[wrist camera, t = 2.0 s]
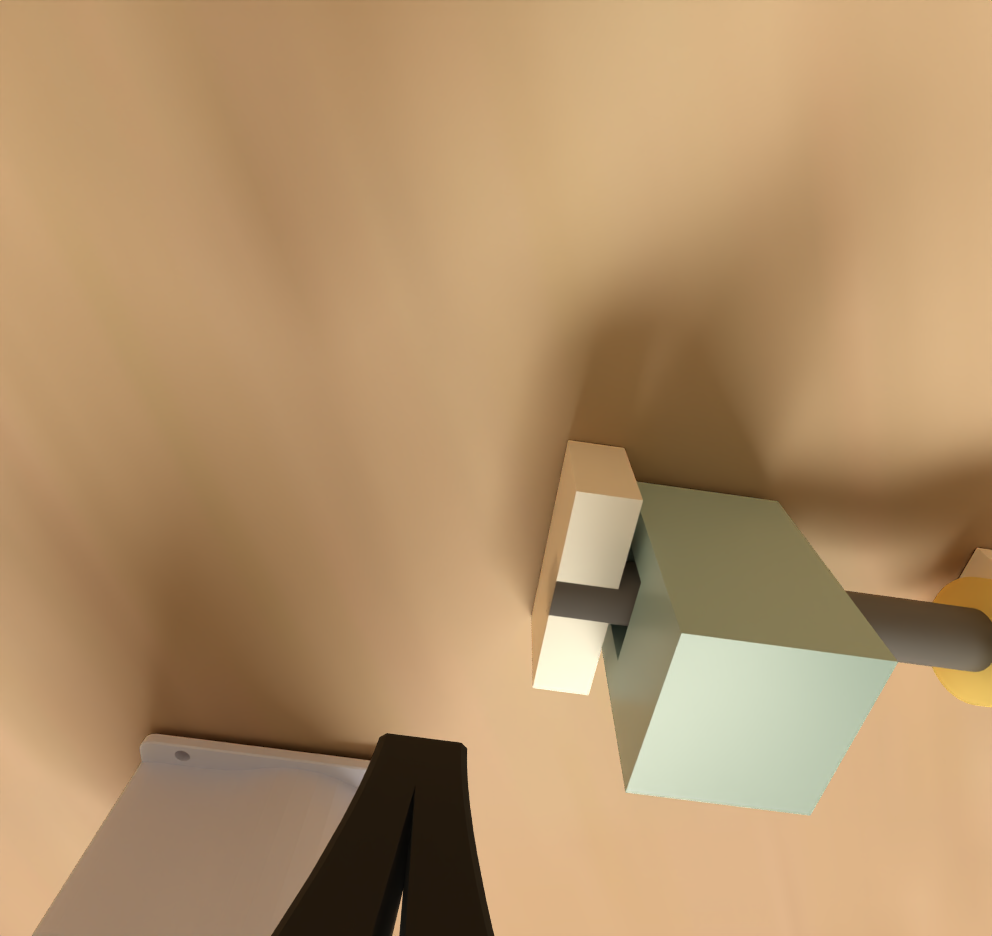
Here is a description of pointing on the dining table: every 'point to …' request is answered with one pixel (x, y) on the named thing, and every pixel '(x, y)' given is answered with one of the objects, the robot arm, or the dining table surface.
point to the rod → (898, 622)
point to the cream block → (979, 564)
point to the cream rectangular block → (582, 560)
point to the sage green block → (736, 657)
